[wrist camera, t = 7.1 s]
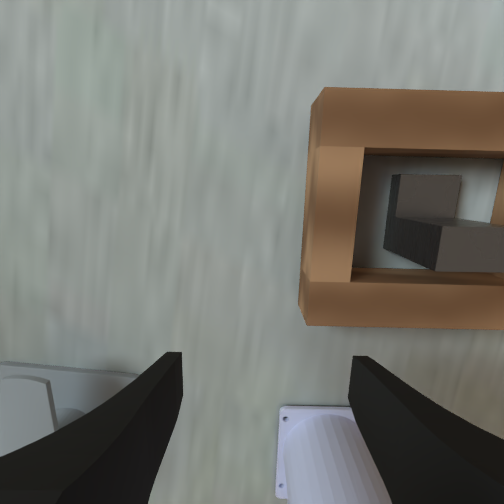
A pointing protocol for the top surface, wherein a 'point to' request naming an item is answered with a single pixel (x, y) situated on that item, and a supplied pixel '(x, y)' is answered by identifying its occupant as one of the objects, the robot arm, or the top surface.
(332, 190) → the well block
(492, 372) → the top surface
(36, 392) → the shower valve
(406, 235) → the grey l-shaped block
